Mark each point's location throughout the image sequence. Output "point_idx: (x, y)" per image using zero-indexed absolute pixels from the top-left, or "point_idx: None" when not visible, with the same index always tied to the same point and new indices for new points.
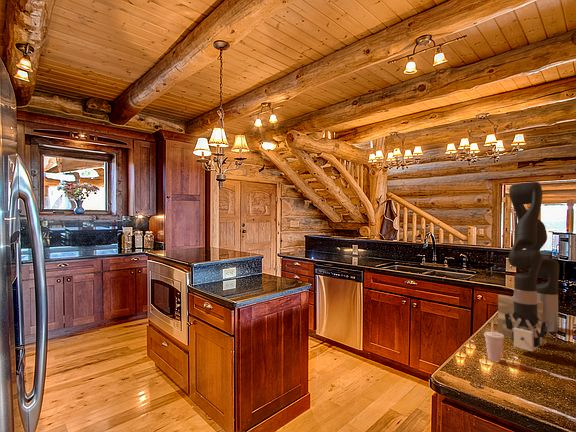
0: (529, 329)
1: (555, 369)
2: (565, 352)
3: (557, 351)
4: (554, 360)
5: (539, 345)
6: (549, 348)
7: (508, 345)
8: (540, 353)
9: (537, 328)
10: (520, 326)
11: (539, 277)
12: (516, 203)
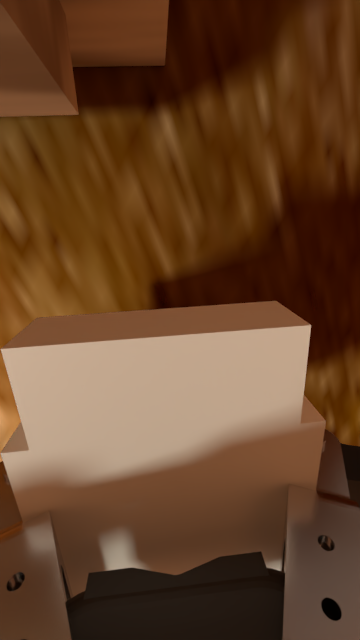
0: (226, 526)
1: (349, 435)
2: (350, 14)
3: (296, 59)
4: (321, 310)
5: (152, 61)
6: (227, 31)
7: (7, 304)
8: (222, 257)
9: (357, 511)
10: (56, 508)
11: None
12: None
